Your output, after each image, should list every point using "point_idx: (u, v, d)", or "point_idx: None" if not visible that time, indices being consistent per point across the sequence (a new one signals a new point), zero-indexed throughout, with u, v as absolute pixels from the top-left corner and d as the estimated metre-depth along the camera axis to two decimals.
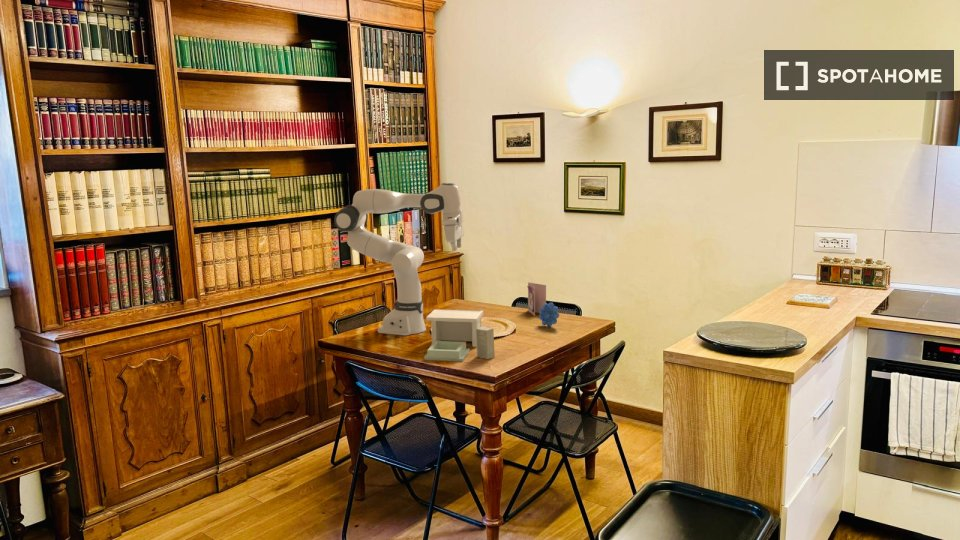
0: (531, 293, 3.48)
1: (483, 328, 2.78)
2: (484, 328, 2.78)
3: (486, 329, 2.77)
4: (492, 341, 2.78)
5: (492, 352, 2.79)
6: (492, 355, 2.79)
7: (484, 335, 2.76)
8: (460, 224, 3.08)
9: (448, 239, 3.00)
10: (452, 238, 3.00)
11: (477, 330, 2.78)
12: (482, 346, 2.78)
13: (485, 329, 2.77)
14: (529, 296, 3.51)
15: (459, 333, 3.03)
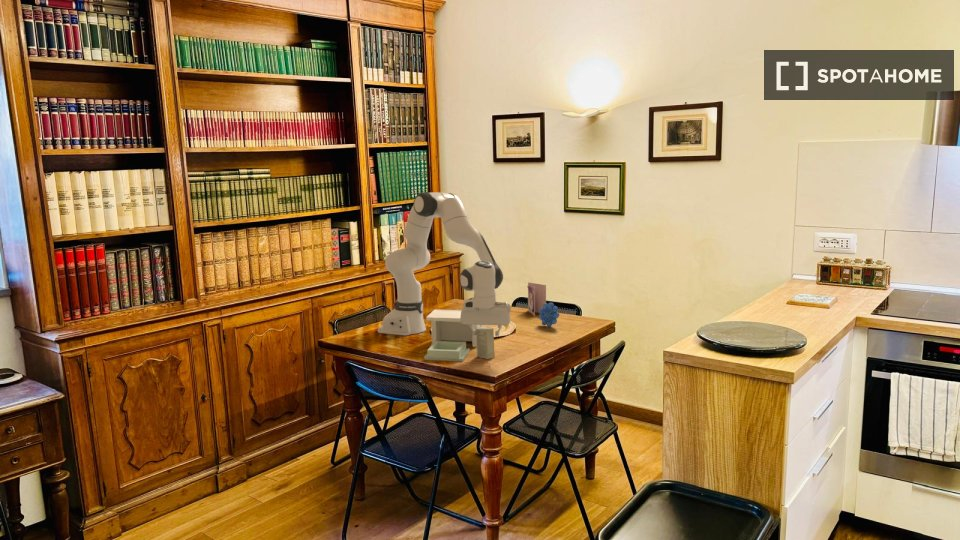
0: (531, 293, 3.48)
1: (483, 328, 2.78)
2: (484, 328, 2.78)
3: (486, 329, 2.77)
4: (492, 341, 2.78)
5: (492, 352, 2.79)
6: (492, 355, 2.79)
7: (484, 335, 2.76)
8: (482, 310, 2.74)
9: None
10: None
11: (477, 330, 2.78)
12: (482, 346, 2.78)
13: (485, 329, 2.77)
14: (529, 296, 3.51)
15: (459, 333, 3.03)
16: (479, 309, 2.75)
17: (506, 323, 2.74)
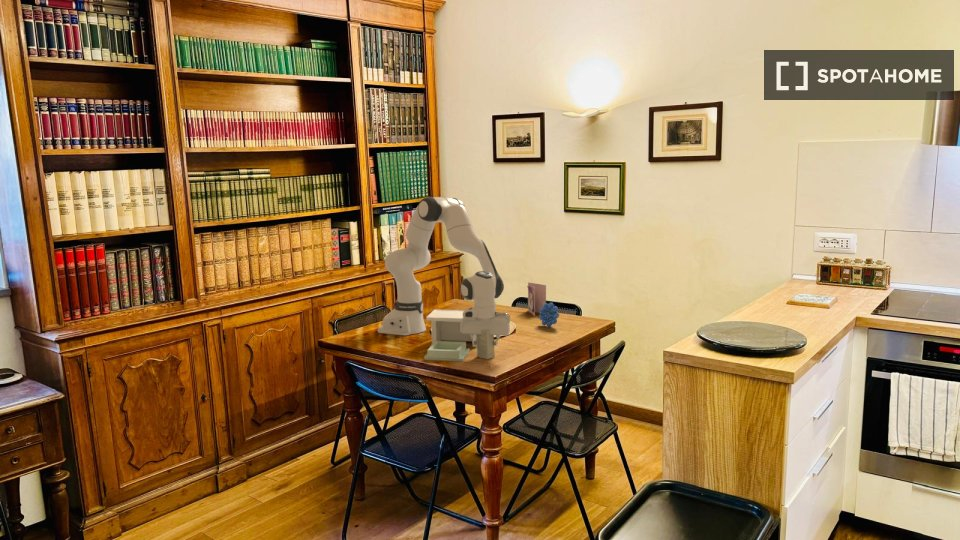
0: (531, 293, 3.48)
1: None
2: None
3: None
4: (492, 341, 2.78)
5: (492, 352, 2.79)
6: (492, 355, 2.79)
7: (484, 335, 2.76)
8: (482, 320, 2.75)
9: None
10: (460, 329, 2.79)
11: None
12: (482, 346, 2.78)
13: None
14: (529, 296, 3.51)
15: (459, 333, 3.03)
16: (479, 319, 2.75)
17: (505, 333, 2.75)
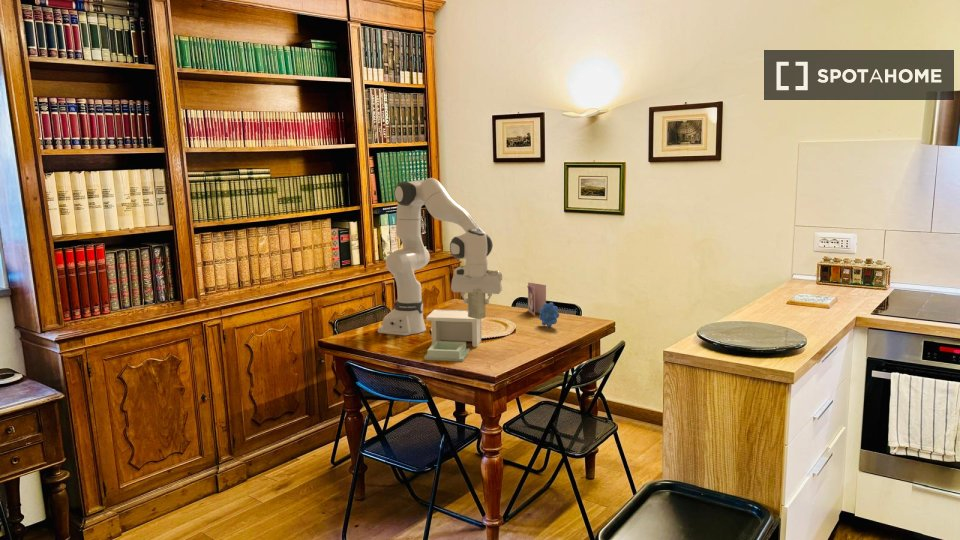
0: (531, 293, 3.48)
1: None
2: None
3: (478, 289, 2.75)
4: (484, 301, 2.76)
5: (483, 313, 2.77)
6: (483, 315, 2.77)
7: (476, 295, 2.74)
8: (473, 278, 2.72)
9: None
10: None
11: None
12: (474, 306, 2.76)
13: (477, 289, 2.75)
14: (529, 296, 3.51)
15: (459, 333, 3.03)
16: (470, 277, 2.73)
17: (497, 291, 2.73)
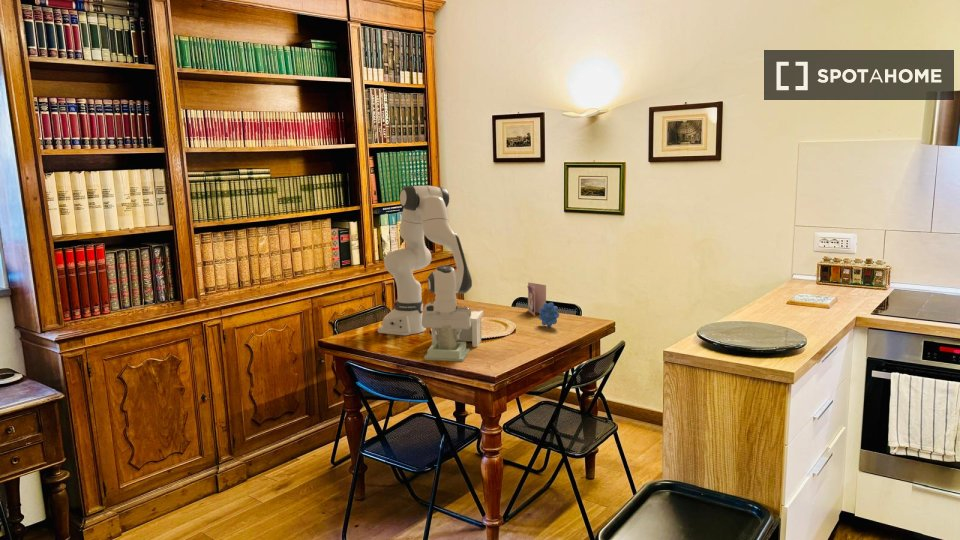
0: (531, 293, 3.48)
1: None
2: None
3: None
4: (454, 337, 2.81)
5: (454, 348, 2.82)
6: None
7: (446, 331, 2.79)
8: (443, 314, 2.77)
9: None
10: None
11: None
12: (444, 342, 2.80)
13: None
14: (529, 296, 3.51)
15: None
16: (440, 313, 2.78)
17: (466, 327, 2.78)
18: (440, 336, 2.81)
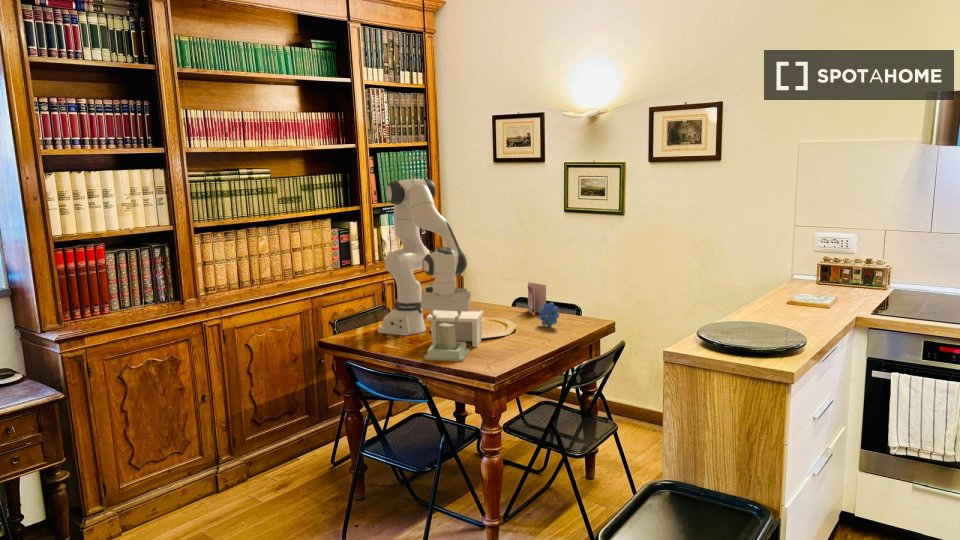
0: (531, 293, 3.48)
1: (445, 324, 2.81)
2: (446, 324, 2.81)
3: (448, 325, 2.79)
4: (454, 337, 2.81)
5: (454, 348, 2.82)
6: None
7: (446, 331, 2.79)
8: (442, 296, 2.76)
9: None
10: None
11: (439, 326, 2.81)
12: (444, 342, 2.80)
13: (447, 325, 2.80)
14: (529, 296, 3.51)
15: (459, 333, 3.03)
16: (439, 294, 2.77)
17: (465, 309, 2.77)
18: (440, 336, 2.81)
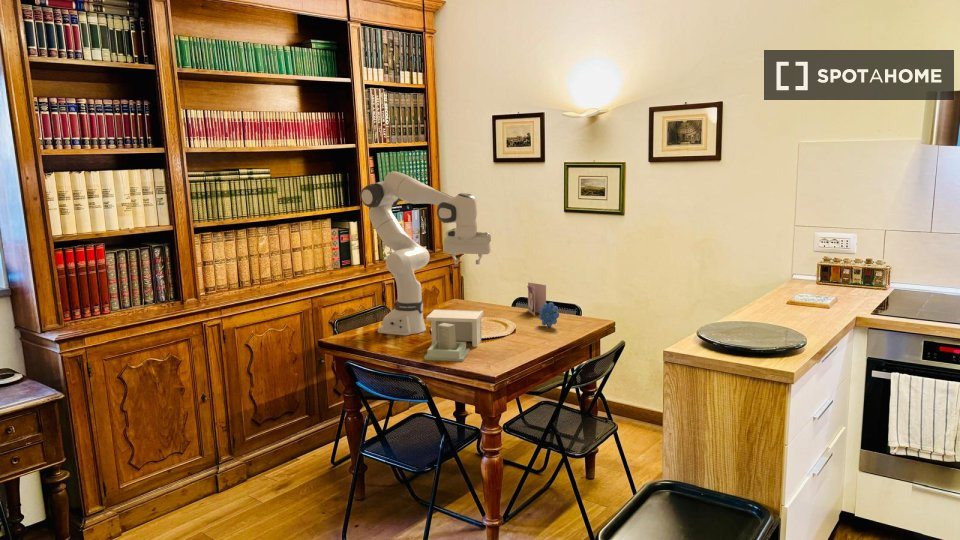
0: (531, 293, 3.48)
1: (445, 324, 2.81)
2: (446, 324, 2.81)
3: (448, 325, 2.79)
4: (454, 337, 2.81)
5: (454, 348, 2.82)
6: None
7: (446, 331, 2.79)
8: (464, 239, 2.90)
9: None
10: None
11: (439, 326, 2.81)
12: (444, 342, 2.80)
13: (447, 325, 2.80)
14: (529, 296, 3.51)
15: (459, 333, 3.03)
16: (461, 238, 2.91)
17: (486, 252, 2.90)
18: (440, 336, 2.81)
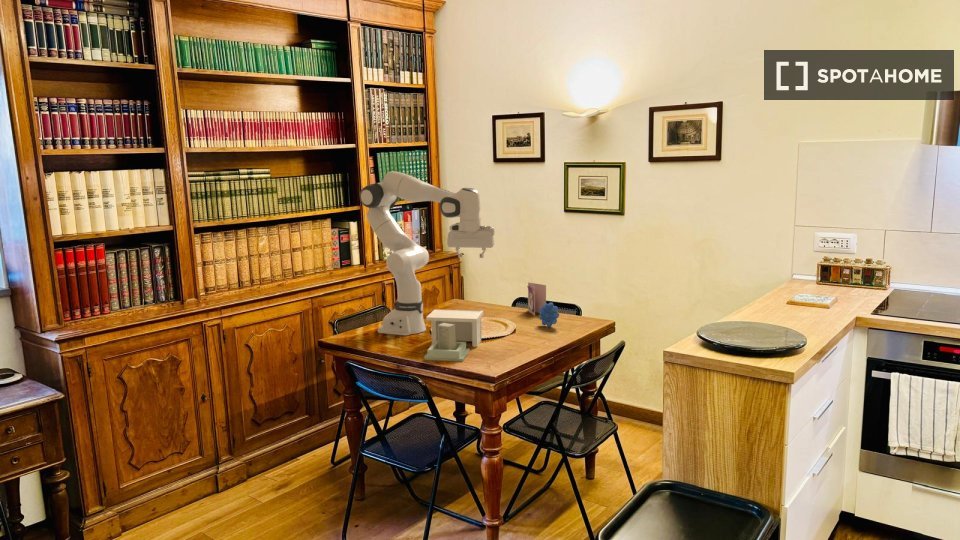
0: (531, 293, 3.48)
1: (445, 324, 2.81)
2: (446, 324, 2.81)
3: (448, 325, 2.79)
4: (454, 337, 2.81)
5: (454, 348, 2.82)
6: None
7: (446, 331, 2.79)
8: (468, 233, 2.93)
9: None
10: None
11: (439, 326, 2.81)
12: (444, 342, 2.80)
13: (447, 325, 2.80)
14: (529, 296, 3.51)
15: (459, 333, 3.03)
16: (465, 232, 2.94)
17: (490, 245, 2.93)
18: (440, 336, 2.81)
